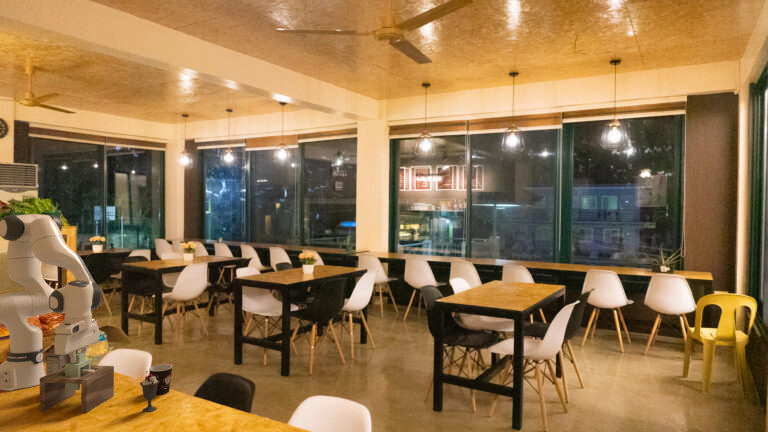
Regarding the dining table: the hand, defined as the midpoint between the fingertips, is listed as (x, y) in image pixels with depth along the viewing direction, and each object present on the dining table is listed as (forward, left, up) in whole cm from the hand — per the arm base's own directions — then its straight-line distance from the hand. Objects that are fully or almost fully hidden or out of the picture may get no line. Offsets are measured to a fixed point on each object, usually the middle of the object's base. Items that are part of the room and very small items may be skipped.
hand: (78, 359), depth 187 cm
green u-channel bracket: (0, 0, -10) cm, 10 cm away
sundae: (+30, -3, -17) cm, 35 cm away
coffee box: (-14, +10, -17) cm, 24 cm away
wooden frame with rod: (0, 0, -17) cm, 17 cm away
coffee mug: (+24, +13, -17) cm, 32 cm away
